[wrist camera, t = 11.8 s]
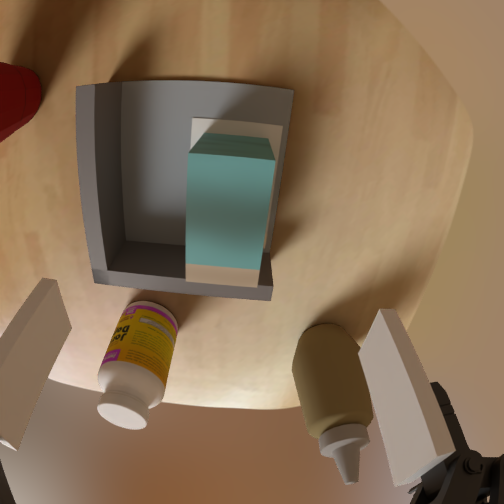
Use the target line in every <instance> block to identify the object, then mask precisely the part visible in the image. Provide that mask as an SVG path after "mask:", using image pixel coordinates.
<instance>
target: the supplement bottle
mask: <svg viewBox="0 0 504 504" xmlns="http://www.w3.org/2000/svg"><path fill="white" fill-rule="evenodd" d="M177 333H178V325H177V322H176V319H175V318H174V316H173V315H172V314H171V313H170V312H169V311H168V310H167V309H166V308H164V307H163V306H161V305H159V304H156V303H153V302H149V301H137V302H134V303H131V304H130V305H128V306H127V307H126V308H125V309H124V311H123V313H122V315H121V317H120V320H119V322H118V324H117V327H116V329H115V331H114V334H113V336H112V339H111V341H110V344H109V346H108V349H107V351H106V354H105V356H104V359H103V361H102V364H101V366H100V369H99V372H98V383H99V386H100V388H101V389H102V391H103V392H104V394H103V395H102V396H101V397H100V400H99V403H98V407H97V409H98V412H99V414H100V415H101V416H102V417H103V418H105V419H106V420H108V421H109V422H111V423H113V424H115V425H117V426H120V427H123V428H127V429H142V428H144V427H145V426H146V425H147V422H148V418H149V408H152V407H154V406H156V405H158V404H159V403H160V402H161V401H162V399H163V397H164V392H165V388H166V383H167V378H168V373H169V369H170V364H171V359H172V355H173V351H174V346H175V342H176V338H177Z"/></svg>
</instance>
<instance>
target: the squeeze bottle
mask: <svg viewBox="0 0 504 504" xmlns="http://www.w3.org/2000/svg"><path fill="white" fill-rule="evenodd" d="M360 349H361V348H360V346H359V345H358V344H357V343H356V342H355V341H354V340H353V339H352V338H351V336H350V335H349V334H348V333H347V332H346V331H345V330H344V329H343V328H341V327H340V326H339V325H334V324H320V325H317V326H314V327H311V328H310V329H308V330H307V331H306V332H304V333H303V334H302V336H301V337H300V339H299V341H298V345H297V348H296V352H295V355H294V359H293V364H292V373H293V377H294V381H295V384H296V388H297V392H298V396H299V400H300V404H301V408H302V412H303V416H304V420H305V423H306V427H307V431H308V433H309V434H310V435H311V436H312V437H314V438H316V439H319V447H320V453H321V454H322V455H323V456H326V457H333V458H334V460H335V462H336V464H337V467H338V469H339V471H340V474H341V476H342V478H343V480H344V483H345V484H346V485H348V484H353V483H356V482H358V477H359V458H360V450H362V449H364V448H365V447H367V445H368V444H369V442H370V440H369V436H368V432H367V429H366V428H367V426H368V425H369V424H370V423H371V420H372V419H373V411H372V405H371V398H370V392H369V388H368V384H367V381H366V378H365V375H364V371H363V368H362V365H361V362H360V358H359V355H358V353H359V351H360Z"/></svg>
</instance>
